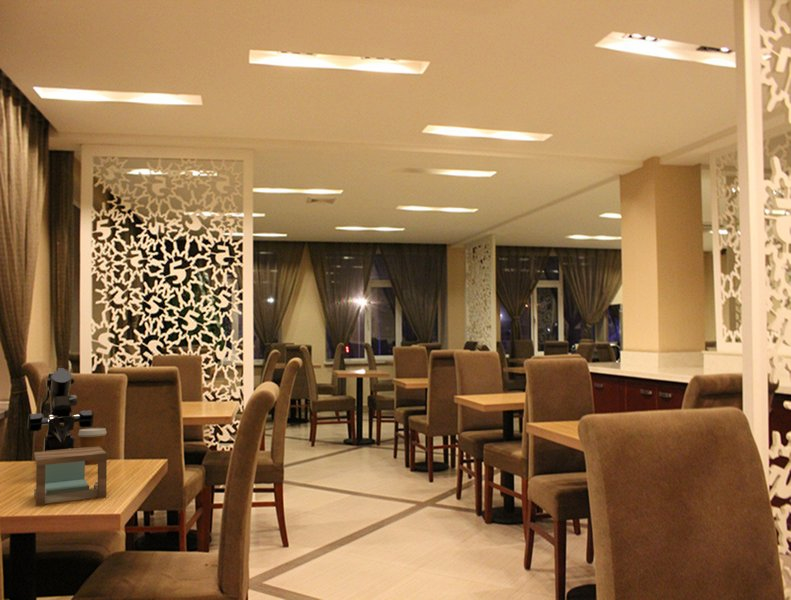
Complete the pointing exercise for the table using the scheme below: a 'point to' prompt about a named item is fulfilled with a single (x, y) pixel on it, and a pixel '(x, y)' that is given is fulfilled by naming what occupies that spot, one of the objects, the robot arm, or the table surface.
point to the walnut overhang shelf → (67, 457)
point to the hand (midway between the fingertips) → (62, 441)
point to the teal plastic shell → (65, 477)
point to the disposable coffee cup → (92, 439)
